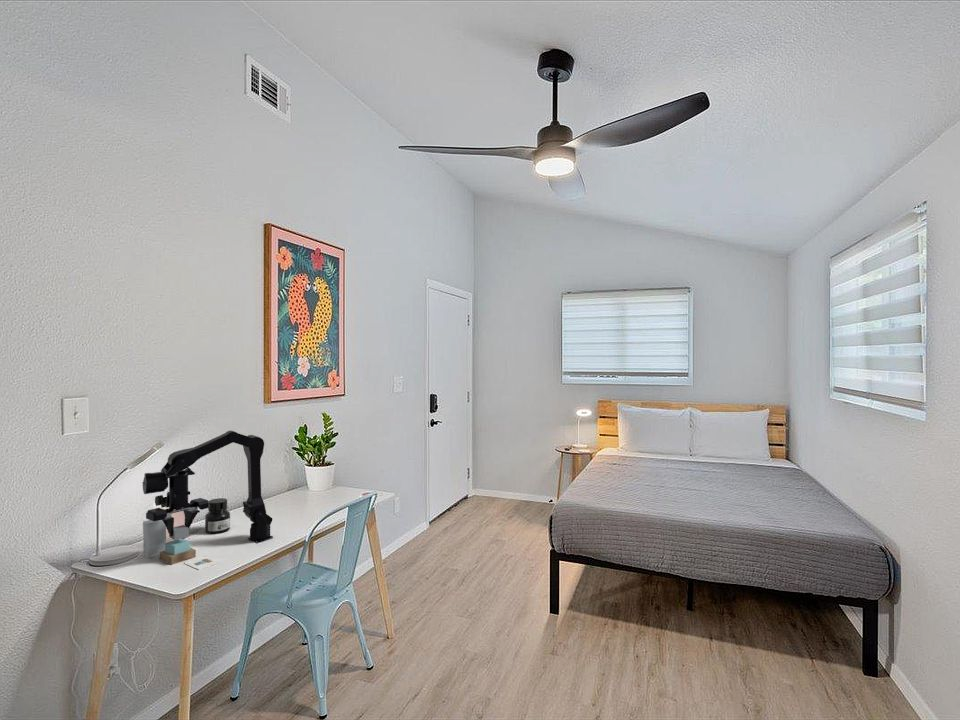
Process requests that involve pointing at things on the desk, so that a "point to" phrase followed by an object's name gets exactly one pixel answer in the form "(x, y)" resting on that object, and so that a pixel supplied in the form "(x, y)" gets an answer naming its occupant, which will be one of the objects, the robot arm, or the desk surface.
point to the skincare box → (153, 537)
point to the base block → (177, 556)
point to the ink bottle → (217, 517)
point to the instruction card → (201, 563)
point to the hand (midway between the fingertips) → (178, 533)
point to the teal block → (177, 546)
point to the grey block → (180, 532)
